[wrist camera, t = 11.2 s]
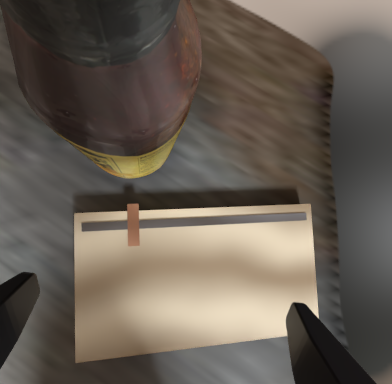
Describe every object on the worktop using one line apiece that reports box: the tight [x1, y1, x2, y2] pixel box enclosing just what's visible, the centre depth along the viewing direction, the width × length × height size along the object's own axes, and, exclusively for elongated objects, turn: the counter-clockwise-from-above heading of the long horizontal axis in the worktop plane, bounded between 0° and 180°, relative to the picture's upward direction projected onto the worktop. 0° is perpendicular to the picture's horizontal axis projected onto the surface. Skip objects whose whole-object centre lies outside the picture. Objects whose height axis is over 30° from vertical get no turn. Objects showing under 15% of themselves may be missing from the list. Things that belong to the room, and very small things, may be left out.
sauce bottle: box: [0, 0, 202, 178], centre depth 11 cm, size 6×6×20 cm
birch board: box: [74, 204, 319, 363], centre depth 20 cm, size 10×18×2 cm, turn 92°
